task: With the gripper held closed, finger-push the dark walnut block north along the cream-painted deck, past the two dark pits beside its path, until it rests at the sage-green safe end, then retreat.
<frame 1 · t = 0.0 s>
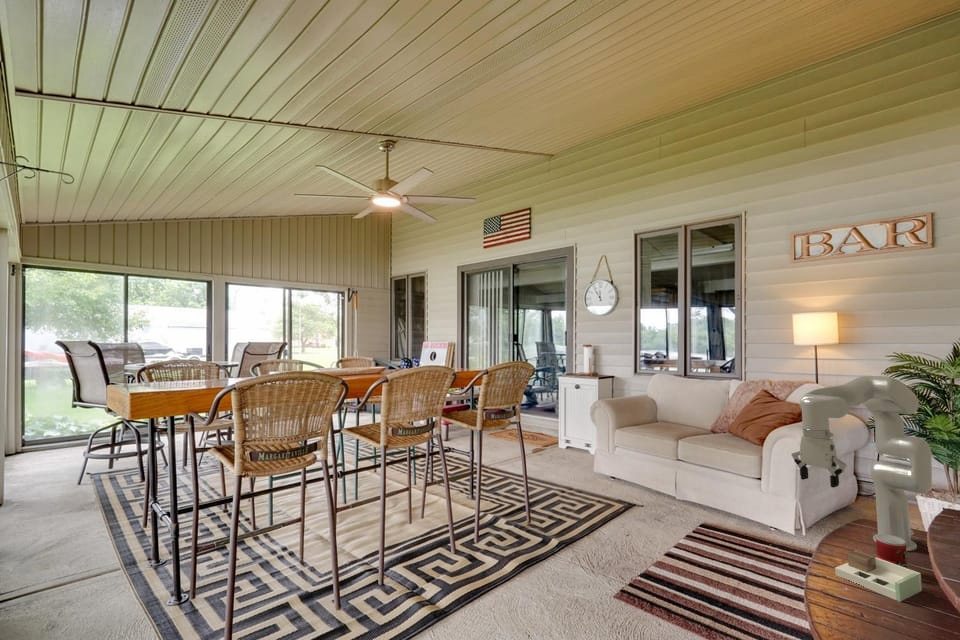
hand: (819, 482, 162), 31 cm above the table, fingers open, 9 cm apart
canned food: (892, 571, 160), on the table
trap box: (877, 582, 154), on the table
block: (862, 567, 159), point 2 cm above the table, touching trap box
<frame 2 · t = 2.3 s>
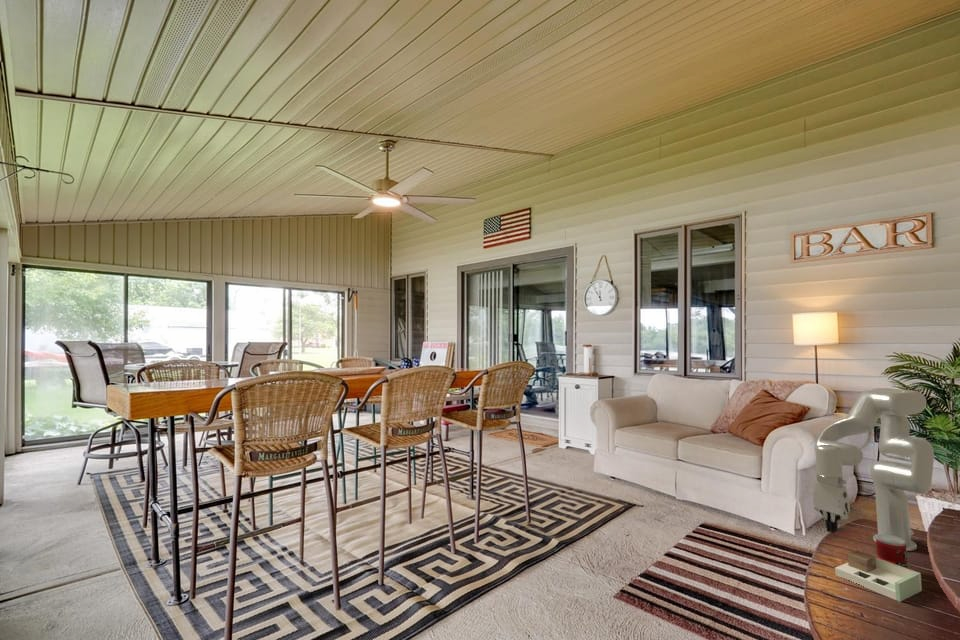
hand: (831, 531, 167), 12 cm above the table, fingers closed
nothing on the table moved.
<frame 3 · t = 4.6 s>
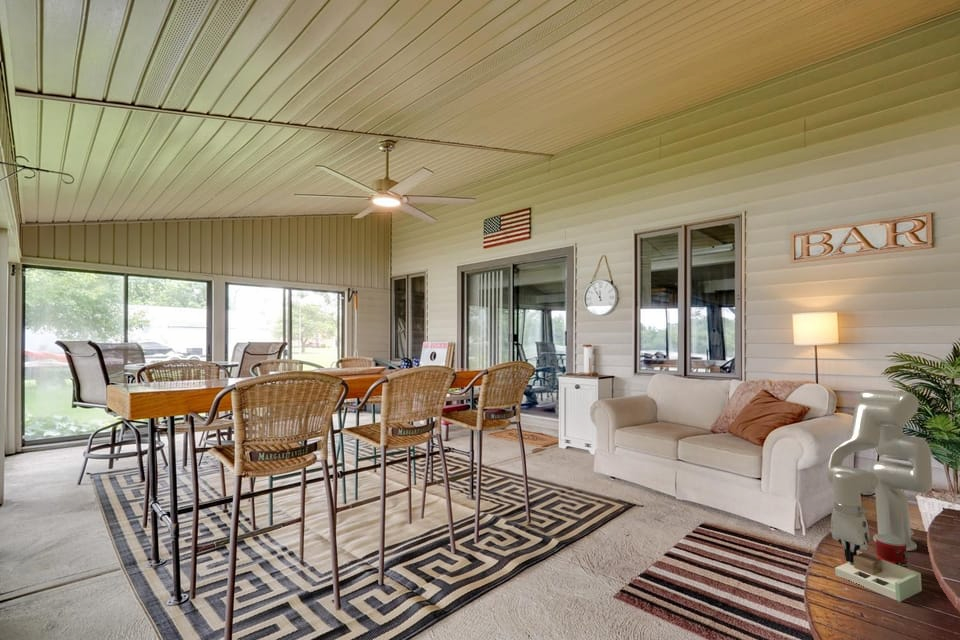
hand: (851, 561, 162), 3 cm above the table, fingers closed
block: (868, 569, 157), point 2 cm above the table, touching gripper, trap box
everything else where it was.
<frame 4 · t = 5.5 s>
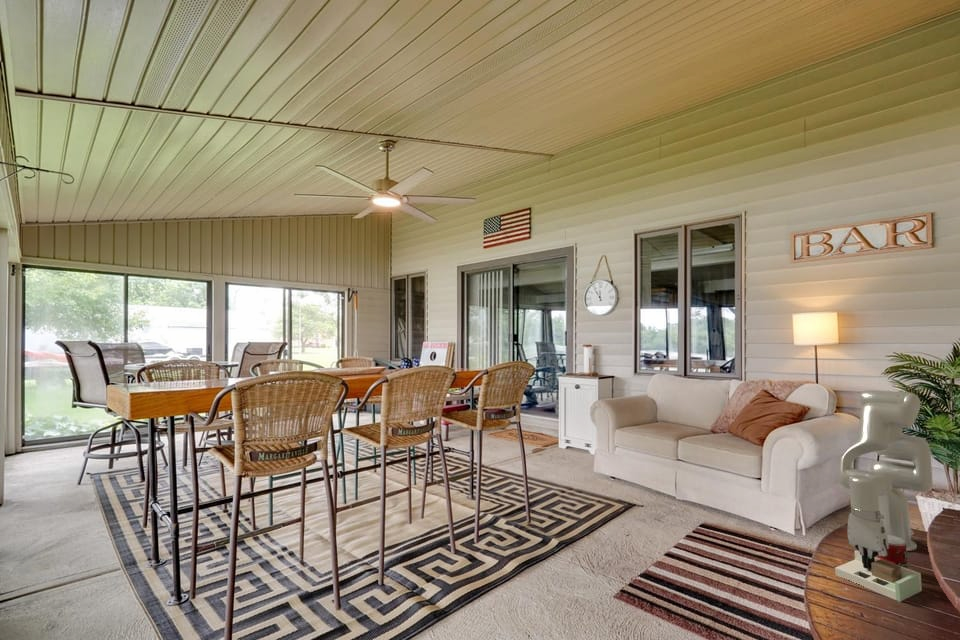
hand: (868, 567, 157), 3 cm above the table, fingers closed
block: (886, 576, 152), point 2 cm above the table, touching trap box
everything else where it was.
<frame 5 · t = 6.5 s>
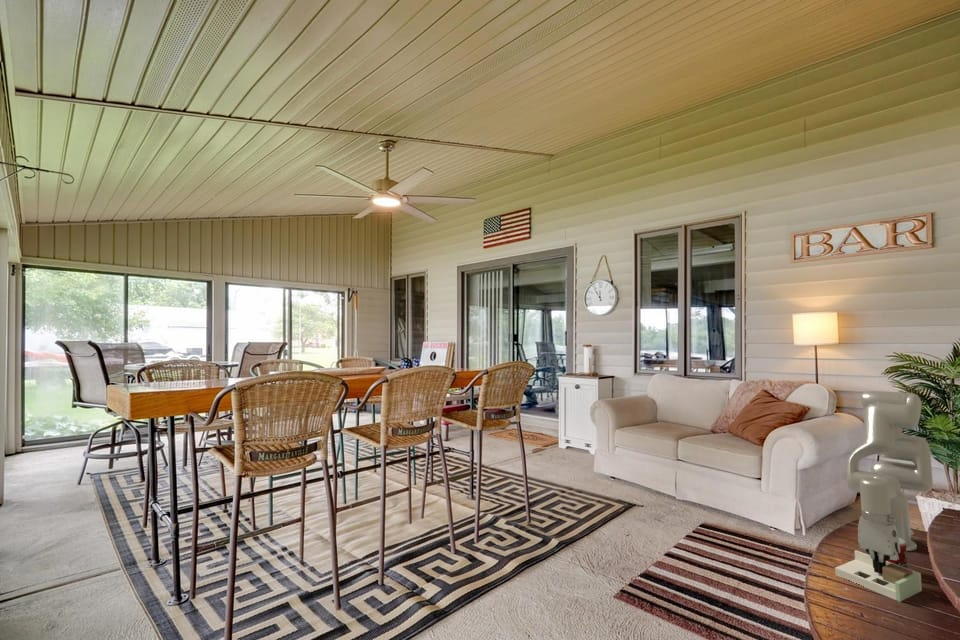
hand: (879, 571, 154), 3 cm above the table, fingers closed
block: (897, 581, 149), point 3 cm above the table, touching gripper, trap box
everything else where it was.
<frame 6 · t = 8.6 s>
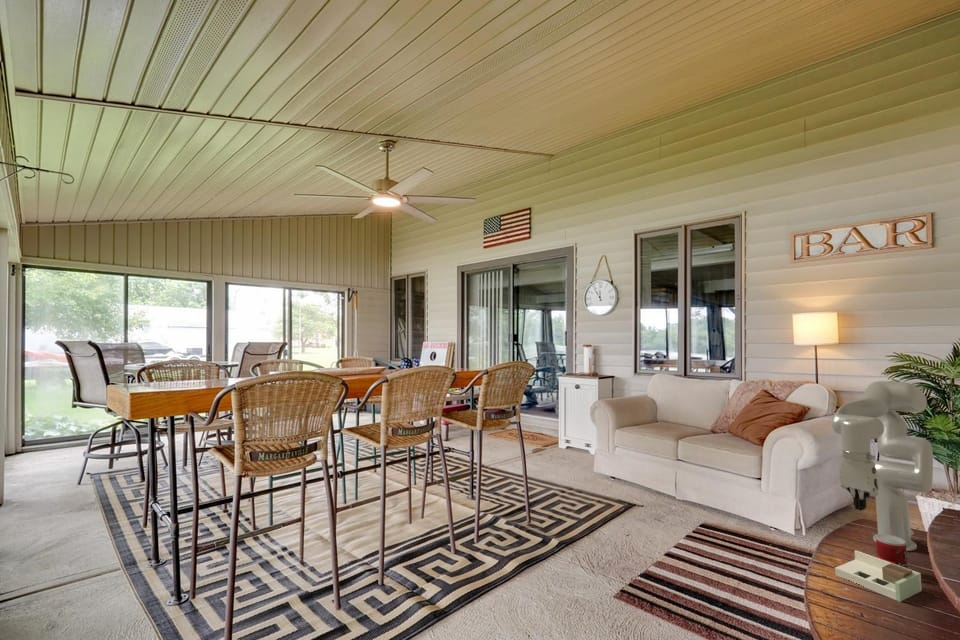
hand: (860, 509, 159), 22 cm above the table, fingers closed
block: (897, 581, 149), point 2 cm above the table, touching trap box
everything else where it was.
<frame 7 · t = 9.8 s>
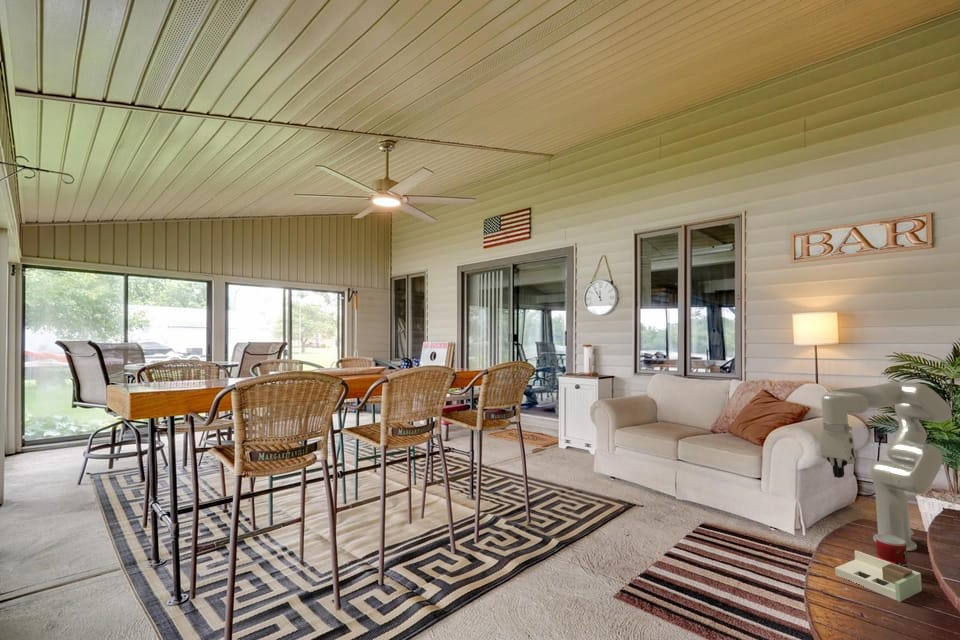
hand: (838, 476, 173), 29 cm above the table, fingers closed
nothing on the table moved.
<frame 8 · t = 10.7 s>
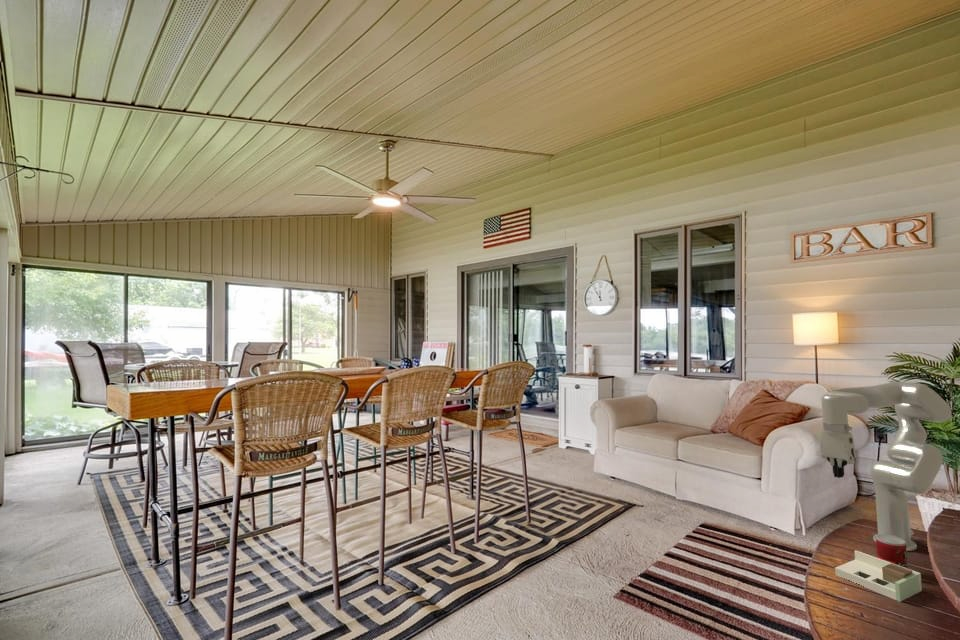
hand: (838, 476, 173), 29 cm above the table, fingers closed
nothing on the table moved.
at the end: block 0.6 cm from the target spot, point 2.5 cm above the table; block tilted 0°; block moved 10.3 cm from its start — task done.
